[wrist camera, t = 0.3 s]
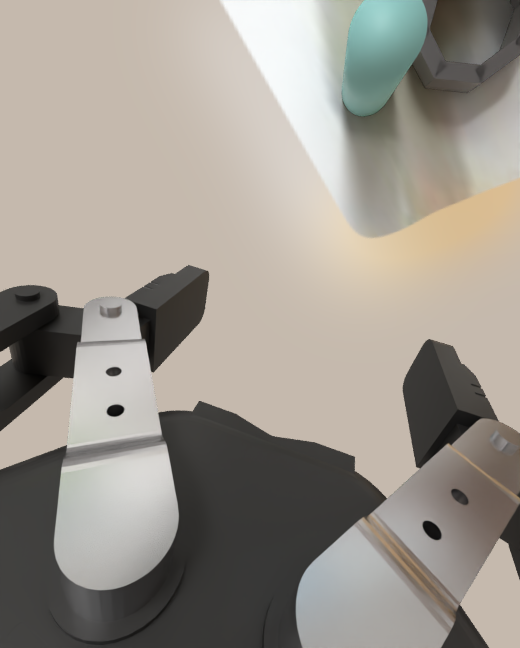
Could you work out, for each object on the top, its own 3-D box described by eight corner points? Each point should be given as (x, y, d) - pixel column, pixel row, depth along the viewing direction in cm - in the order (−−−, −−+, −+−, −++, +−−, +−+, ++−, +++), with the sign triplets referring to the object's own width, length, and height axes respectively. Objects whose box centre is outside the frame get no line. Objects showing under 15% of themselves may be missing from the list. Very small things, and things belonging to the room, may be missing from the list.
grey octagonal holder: (429, -48, 27) (440, -75, 24) (548, -40, 26) (574, -67, 23) (395, 84, 30) (401, 74, 28) (498, 96, 29) (515, 87, 27)
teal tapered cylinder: (348, 55, 30) (358, -19, 19) (399, 60, 30) (438, -12, 19) (336, 113, 32) (339, 75, 21) (384, 119, 32) (412, 83, 21)
